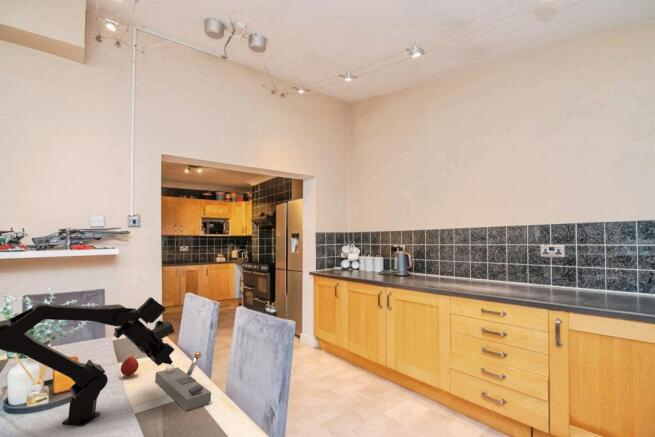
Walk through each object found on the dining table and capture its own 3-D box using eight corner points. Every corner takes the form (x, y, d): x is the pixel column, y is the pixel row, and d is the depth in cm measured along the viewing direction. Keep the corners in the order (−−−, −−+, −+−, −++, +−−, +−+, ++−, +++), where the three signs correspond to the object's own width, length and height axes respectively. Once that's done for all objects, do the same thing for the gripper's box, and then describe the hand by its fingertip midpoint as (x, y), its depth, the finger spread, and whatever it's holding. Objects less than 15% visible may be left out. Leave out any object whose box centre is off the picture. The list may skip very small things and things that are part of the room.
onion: (128, 380, 121) (131, 358, 122) (115, 378, 122) (118, 356, 123) (140, 375, 127) (142, 353, 127) (128, 373, 128) (130, 352, 129)
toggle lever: (187, 375, 115) (198, 352, 118) (184, 373, 117) (195, 350, 120) (192, 376, 116) (203, 353, 119) (190, 374, 118) (200, 352, 121)
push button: (166, 373, 121) (167, 368, 121) (164, 371, 123) (164, 366, 123) (175, 371, 123) (175, 366, 123) (172, 369, 125) (172, 364, 125)
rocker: (191, 394, 105) (191, 391, 104) (188, 392, 106) (188, 389, 106) (202, 389, 107) (202, 386, 107) (199, 387, 109) (199, 384, 109)
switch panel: (185, 411, 102) (186, 398, 102) (155, 381, 121) (156, 371, 122) (210, 403, 107) (211, 391, 108) (177, 376, 127) (177, 366, 127)
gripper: (170, 320, 104) (200, 350, 110) (151, 310, 117) (179, 337, 123) (140, 350, 97) (174, 379, 104) (123, 336, 110) (154, 363, 117)
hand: (171, 363), depth 112 cm, fingers closed
